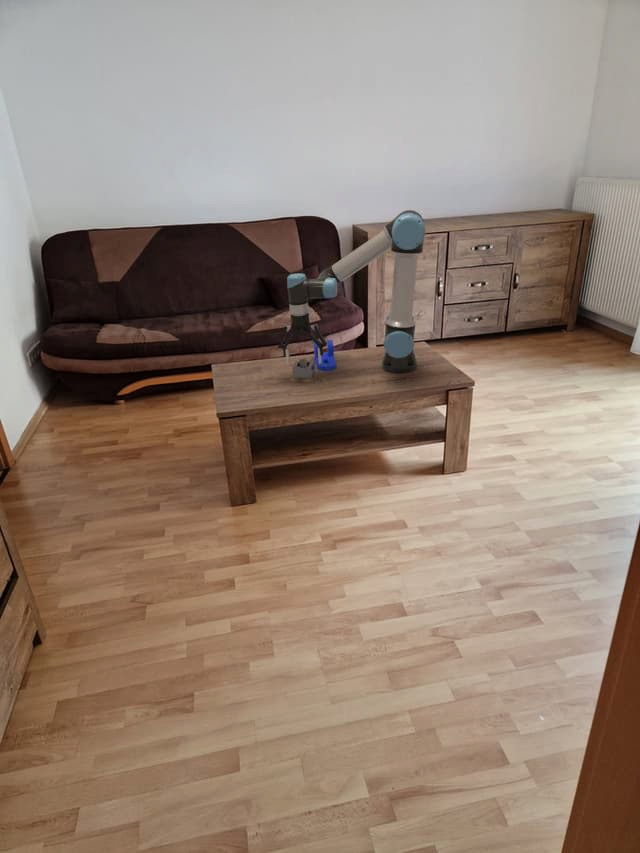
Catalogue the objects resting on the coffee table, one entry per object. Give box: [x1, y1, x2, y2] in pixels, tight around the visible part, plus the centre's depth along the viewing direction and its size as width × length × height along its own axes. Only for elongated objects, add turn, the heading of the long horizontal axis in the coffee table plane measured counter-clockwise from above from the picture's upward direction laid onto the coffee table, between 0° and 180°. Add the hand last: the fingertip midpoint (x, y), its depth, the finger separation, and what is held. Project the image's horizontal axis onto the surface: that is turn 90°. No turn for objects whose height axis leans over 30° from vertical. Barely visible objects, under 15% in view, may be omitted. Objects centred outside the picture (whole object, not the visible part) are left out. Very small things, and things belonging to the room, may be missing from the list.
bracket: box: [313, 339, 337, 372], centre depth 253 cm, size 18×8×9 cm, turn 6°
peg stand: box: [290, 358, 318, 384], centre depth 239 cm, size 10×10×8 cm
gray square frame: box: [291, 360, 316, 379], centre depth 239 cm, size 8×8×5 cm
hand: (304, 363), depth 238 cm, fingers open, 13 cm apart
